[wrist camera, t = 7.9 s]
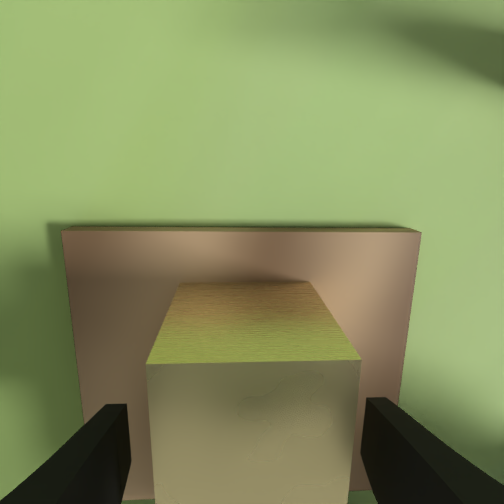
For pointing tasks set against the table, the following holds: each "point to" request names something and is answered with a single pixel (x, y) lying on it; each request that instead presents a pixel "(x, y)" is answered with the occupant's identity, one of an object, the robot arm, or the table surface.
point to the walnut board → (229, 270)
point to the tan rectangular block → (251, 397)
